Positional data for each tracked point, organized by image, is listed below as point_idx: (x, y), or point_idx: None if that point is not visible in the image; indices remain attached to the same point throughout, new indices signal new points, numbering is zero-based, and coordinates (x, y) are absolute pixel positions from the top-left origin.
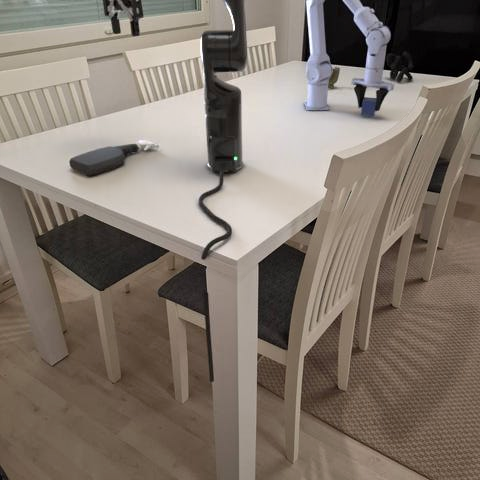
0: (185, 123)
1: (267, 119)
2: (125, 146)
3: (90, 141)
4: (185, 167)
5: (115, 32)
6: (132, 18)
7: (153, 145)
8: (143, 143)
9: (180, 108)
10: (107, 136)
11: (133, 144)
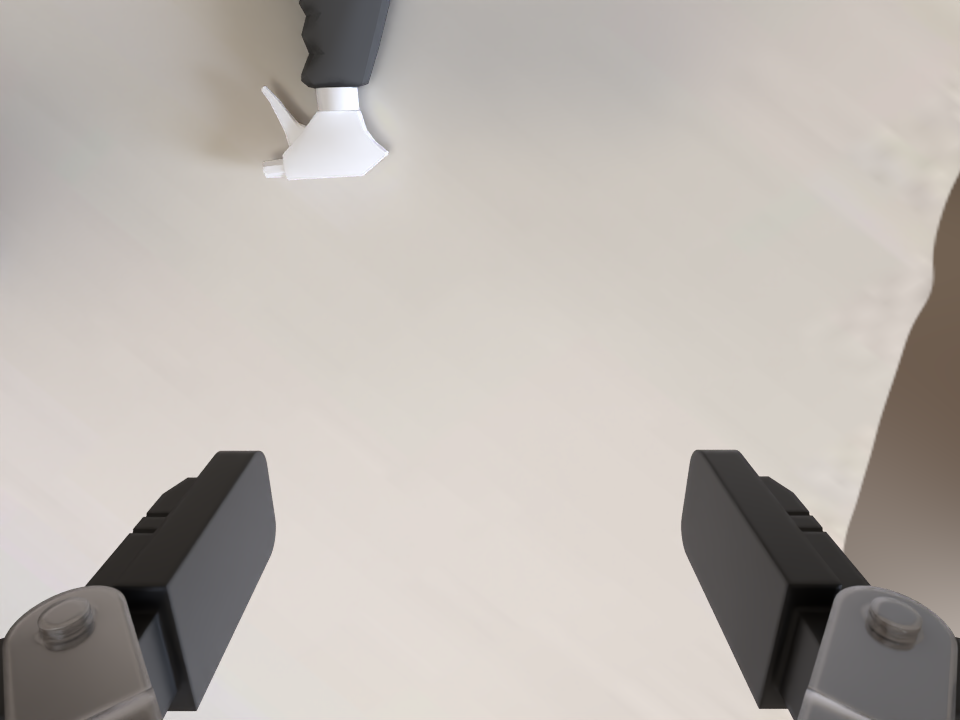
0: (482, 482)
1: (265, 681)
2: (322, 15)
3: (658, 25)
4: (12, 107)
5: (697, 468)
6: (10, 629)
7: (283, 158)
8: (319, 128)
9: (663, 600)
10: (644, 138)
11: (324, 70)
